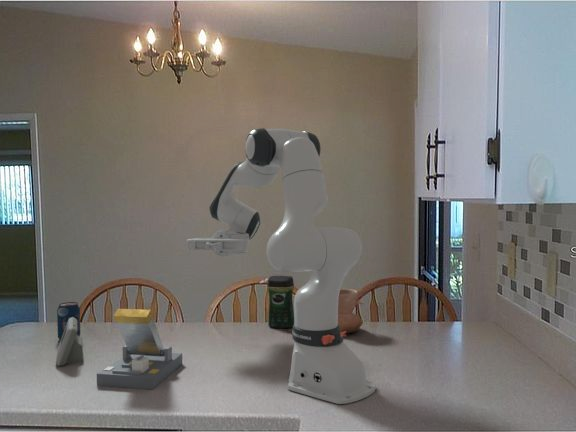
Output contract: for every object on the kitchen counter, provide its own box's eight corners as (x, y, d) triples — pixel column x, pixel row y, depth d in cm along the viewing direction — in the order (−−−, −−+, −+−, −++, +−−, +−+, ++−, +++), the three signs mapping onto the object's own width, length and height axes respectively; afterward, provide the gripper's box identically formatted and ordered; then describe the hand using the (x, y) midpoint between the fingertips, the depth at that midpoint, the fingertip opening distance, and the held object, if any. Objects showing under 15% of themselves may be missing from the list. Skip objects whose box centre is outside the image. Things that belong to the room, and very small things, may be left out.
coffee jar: (296, 324, 173) (296, 274, 173) (291, 329, 166) (290, 277, 165) (271, 322, 176) (271, 273, 175) (265, 328, 168) (264, 277, 168)
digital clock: (59, 351, 145) (58, 317, 144) (90, 348, 147) (89, 315, 146) (44, 369, 129) (43, 331, 129) (79, 366, 131) (78, 328, 131)
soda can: (65, 343, 152) (64, 306, 152) (53, 340, 156) (52, 304, 155) (84, 337, 158) (84, 302, 158) (72, 335, 162) (71, 300, 161)
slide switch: (137, 368, 120) (137, 354, 120) (148, 368, 119) (148, 355, 119) (132, 372, 117) (131, 358, 117) (143, 373, 116) (142, 359, 116)
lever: (133, 349, 129) (116, 308, 121) (166, 351, 128) (152, 309, 119) (129, 357, 127) (111, 315, 119) (163, 358, 125) (148, 317, 117)
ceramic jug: (367, 327, 167) (366, 288, 167) (361, 338, 154) (360, 295, 154) (319, 324, 173) (318, 286, 173) (308, 335, 159) (307, 293, 159)
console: (133, 361, 134) (133, 338, 134) (182, 363, 132) (181, 341, 131) (96, 385, 117) (96, 359, 116) (152, 389, 114) (152, 363, 114)
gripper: (195, 233, 158) (178, 236, 145) (253, 233, 155) (241, 236, 141) (195, 251, 159) (178, 256, 145) (253, 252, 155) (241, 257, 141)
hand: (210, 246), depth 143 cm, fingers closed
